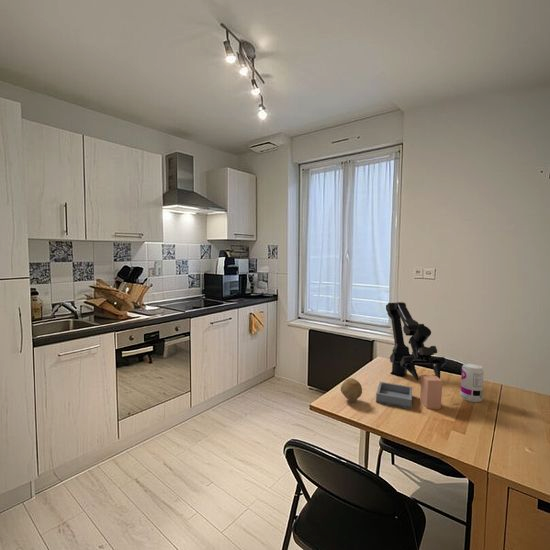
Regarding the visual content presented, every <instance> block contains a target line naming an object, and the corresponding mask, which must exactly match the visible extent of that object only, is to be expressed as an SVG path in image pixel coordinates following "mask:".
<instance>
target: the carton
mask: <svg viewBox="0 0 550 550" xmlns="http://www.w3.org/2000/svg"><path fill="white" fill-rule="evenodd" d="M420 378H421V379H420V393H419V394H420V396H419V397H420V399H419V403H420V404H421V405H422V406H424V408H425V409H431V410H432V409H435V410H436V409H437V410H440V409H442V397H443V395H442V394H443V380H442V379H441V377H440V378H438V377H437V376H436V375H435V374H421V375H420Z"/></svg>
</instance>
